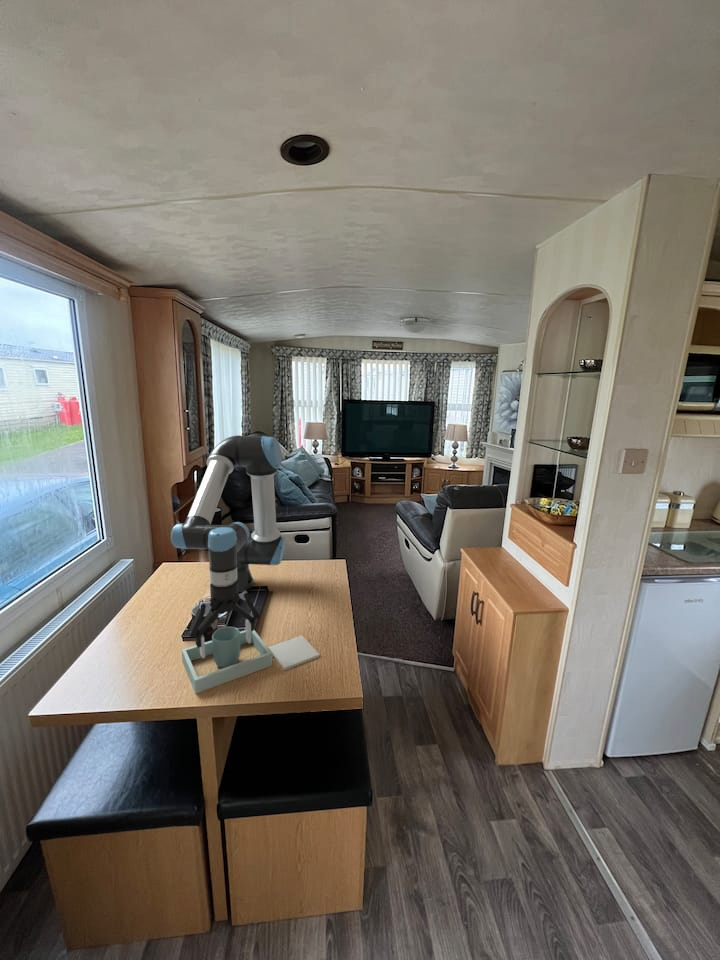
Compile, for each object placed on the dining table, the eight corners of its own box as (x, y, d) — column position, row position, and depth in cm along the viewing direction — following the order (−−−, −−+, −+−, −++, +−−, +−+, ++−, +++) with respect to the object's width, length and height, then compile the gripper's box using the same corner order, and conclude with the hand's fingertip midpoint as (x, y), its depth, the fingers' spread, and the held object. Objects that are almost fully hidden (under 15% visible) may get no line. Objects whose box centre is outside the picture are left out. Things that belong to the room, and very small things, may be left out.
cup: (232, 674, 118) (231, 643, 116) (208, 669, 119) (206, 639, 117) (245, 657, 125) (244, 628, 123) (222, 653, 127) (220, 624, 125)
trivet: (268, 649, 130) (268, 647, 129) (302, 637, 136) (302, 635, 136) (284, 670, 120) (284, 667, 120) (319, 656, 127) (319, 654, 127)
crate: (182, 661, 122) (181, 649, 122) (253, 638, 135) (252, 627, 134) (195, 693, 110) (194, 680, 109) (272, 665, 122) (272, 653, 121)
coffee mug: (213, 626, 141) (212, 600, 139) (224, 637, 135) (223, 609, 133) (179, 639, 133) (177, 611, 131) (189, 651, 127) (188, 622, 125)
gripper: (180, 597, 107) (184, 669, 111) (270, 576, 121) (270, 641, 125) (174, 586, 113) (178, 655, 117) (260, 568, 127) (261, 629, 131)
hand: (226, 648), depth 121 cm, fingers open, 13 cm apart
